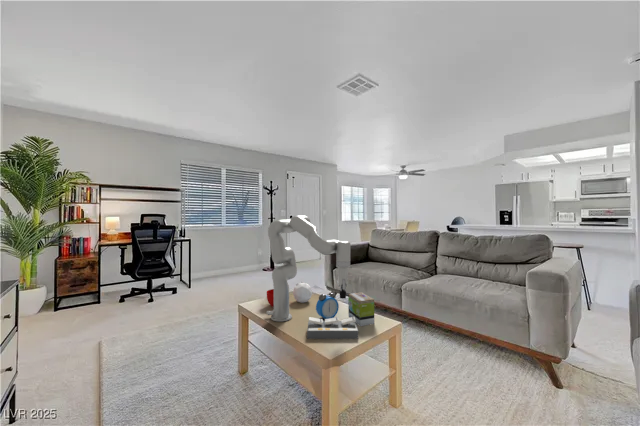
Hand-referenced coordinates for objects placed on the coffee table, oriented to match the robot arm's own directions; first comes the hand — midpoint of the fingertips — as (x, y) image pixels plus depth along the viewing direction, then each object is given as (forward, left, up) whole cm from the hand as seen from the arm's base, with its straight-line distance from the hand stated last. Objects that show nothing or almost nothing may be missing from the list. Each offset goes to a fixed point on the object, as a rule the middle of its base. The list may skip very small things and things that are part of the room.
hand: (342, 298), depth 149 cm
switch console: (-6, -2, -18) cm, 19 cm away
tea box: (+12, +16, -19) cm, 27 cm away
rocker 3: (+3, 0, -13) cm, 13 cm away
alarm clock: (-8, +20, -19) cm, 28 cm away
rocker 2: (-6, 0, -13) cm, 14 cm away
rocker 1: (-15, 0, -13) cm, 20 cm away
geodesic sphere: (-25, +51, -19) cm, 59 cm away
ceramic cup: (-44, +44, -19) cm, 65 cm away
